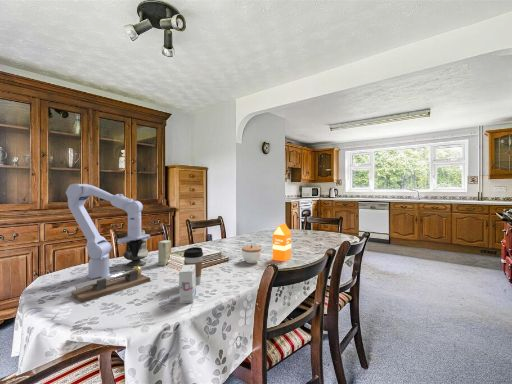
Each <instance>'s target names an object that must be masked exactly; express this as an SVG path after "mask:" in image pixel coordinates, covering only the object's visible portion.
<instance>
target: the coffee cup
mask: <svg viewBox="0 0 512 384" xmlns="http://www.w3.org/2000/svg"><path fill="white" fill-rule="evenodd" d="M183 252H184V253H183V258H184V260H183V263H184V264H183V265H195V275H196V286H199V285H201V280H202V279H201V278H202V270H203V269H202V267H203V256H204V253H203V248H201V247H198V246H195V247H188V248H186V249H184V251H183Z"/></svg>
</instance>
